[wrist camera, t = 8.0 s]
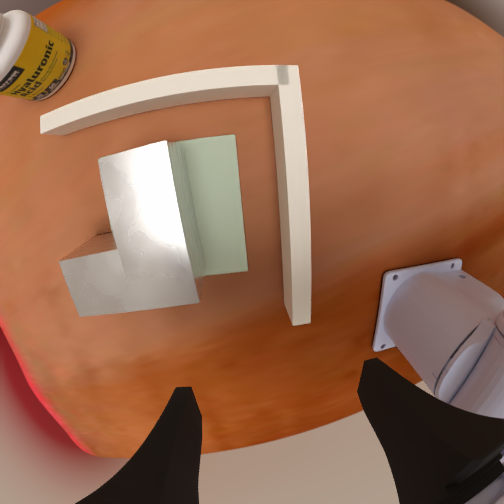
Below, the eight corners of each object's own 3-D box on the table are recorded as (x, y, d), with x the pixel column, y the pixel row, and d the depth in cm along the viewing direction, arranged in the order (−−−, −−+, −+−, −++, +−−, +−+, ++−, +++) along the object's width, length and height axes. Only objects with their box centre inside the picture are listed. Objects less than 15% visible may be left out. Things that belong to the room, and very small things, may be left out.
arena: (286, 79, 15) (297, 65, 12) (299, 301, 20) (310, 322, 17) (63, 119, 14) (40, 116, 11) (103, 318, 19) (89, 340, 16)
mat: (234, 134, 16) (235, 134, 16) (247, 269, 19) (248, 270, 19) (101, 157, 15) (100, 157, 15) (125, 282, 18) (124, 283, 18)
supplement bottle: (44, 114, 14) (-51, 106, 4) (18, 82, 12) (-64, 67, 3) (90, 56, 13) (9, 8, 4) (59, 29, 11) (-12, -12, 2)
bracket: (206, 266, 18) (199, 302, 14) (108, 281, 18) (79, 316, 13) (183, 145, 16) (166, 140, 11) (81, 173, 15) (39, 181, 11)
